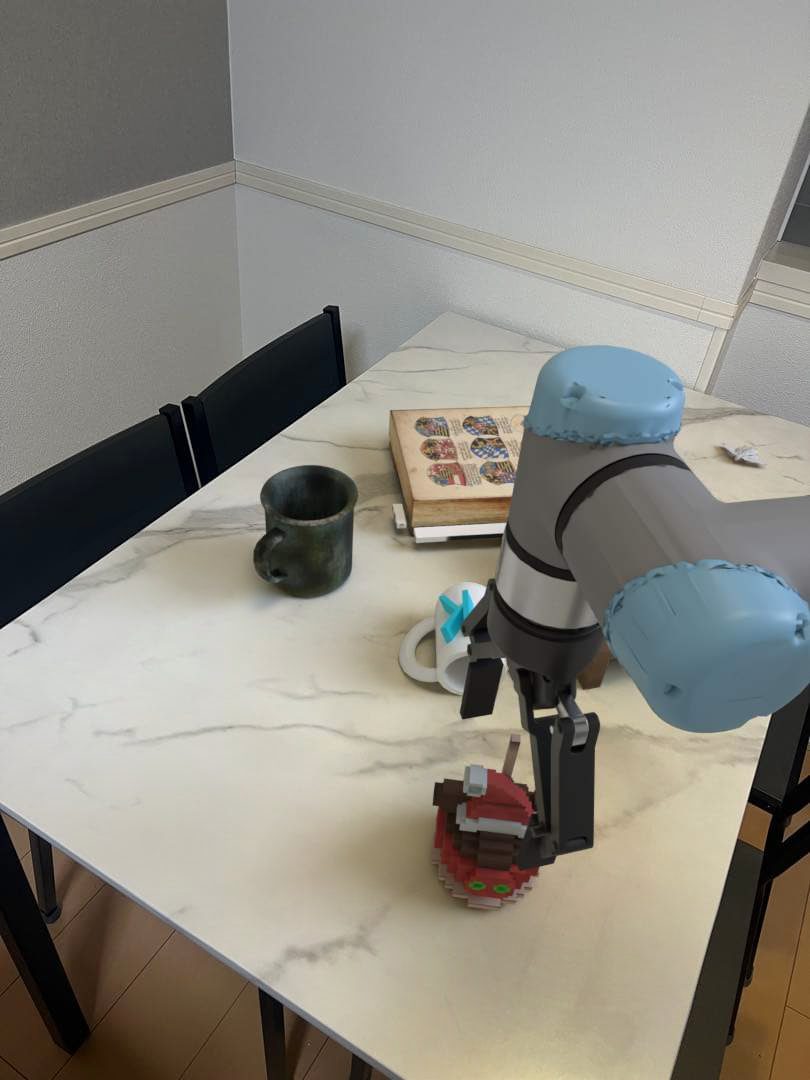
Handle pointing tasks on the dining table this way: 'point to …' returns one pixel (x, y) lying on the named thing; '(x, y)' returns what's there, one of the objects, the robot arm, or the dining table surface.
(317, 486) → the mug
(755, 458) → the flower
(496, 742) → the dining table surface
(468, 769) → the cake
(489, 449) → the book
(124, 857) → the dining table surface
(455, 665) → the mug
